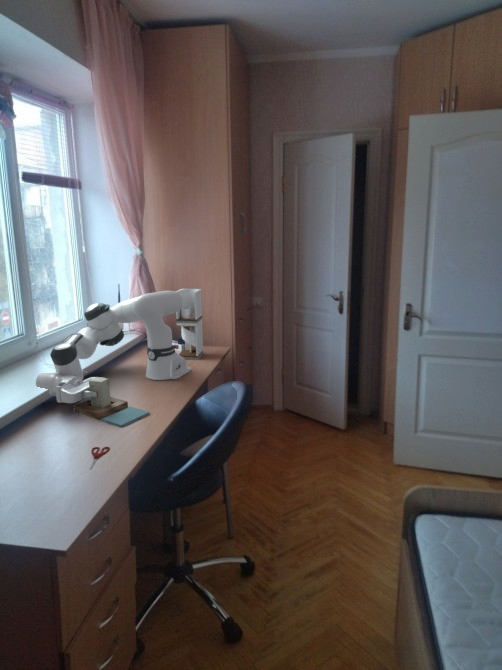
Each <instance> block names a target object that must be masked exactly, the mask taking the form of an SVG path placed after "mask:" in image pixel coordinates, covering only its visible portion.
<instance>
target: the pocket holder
mask: <svg viewBox="0 0 502 670" xmlns="http://www.w3.org/2000/svg"><path fill="white" fill-rule="evenodd" d="M110 400H111V404H110V405H108V406H106V407H103V408H101V409H98V408H95V407H92V406H91V398H90V399H88V400H87V399H86V400H85V401H83V402H79V403H77V404H73V412H74V413H75V414H76V413H77V414H80V415H83V416H86V417H89V418H91V419H95V420H98V421H100V420H102V419H103V418H105V417H107V416H110V415H112V414H114V413H117V412H119V411H121V410H124V409H126V408H128V407H129V405H128V403H129V402H128V401H127V400H124V399H120V398H117V397H113V396H110Z"/></svg>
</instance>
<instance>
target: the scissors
mask: <svg viewBox="0 0 502 670" xmlns="http://www.w3.org/2000/svg"><path fill="white" fill-rule="evenodd" d="M105 449H106V450H105ZM110 449H111V448H110V446H104V447H102V449H100V447H99V446H94V447H92V448H91V454H92V456H93V461H92V463H91V466H90V467H89V471H90V470H92V468H93V467H94V466H95V464H96V462H97V461H98V459H100V458H101V457H102V456H104V455H105V454H107V453H108V452H109V451H110ZM95 450H96V451H95ZM100 450H101V451H100ZM104 450H105V451H104ZM99 451H100V452H99Z"/></svg>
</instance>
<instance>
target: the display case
mask: <svg viewBox="0 0 502 670" xmlns="http://www.w3.org/2000/svg"><path fill="white" fill-rule="evenodd" d="M176 292H178V293H179V294H180V296H181V298H182V307H181V309H180V310H178V311H177V312H175V317H176V318H175V319H176V321H175V322H176V323H175V324H176V326H180V327H181V329H180V331H181V338H182V340H183V341H184V345H185V347H184V348H185V349H183V350H181V352H179V353H178V354H179V355H180V356H182V357H183V358H184V359H185V360H196V361H197V360H199V359H200V358H201V357H202V356H203V354H204V341H203V340H204V339H203V338H204V337H203V336H204V335H203V305H202V304H203V299H202V288H180V289H178V290H176Z"/></svg>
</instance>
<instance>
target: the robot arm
mask: <svg viewBox="0 0 502 670" xmlns="http://www.w3.org/2000/svg"><path fill="white" fill-rule="evenodd" d="M176 291H177V290H176ZM176 291H175V290H167V289H166V290H162V291H156V292H148V293H143V294H141V295H139V296H136V297H132V298H129V299H125V300H122V301H120V302H118V303H116V304H115V305H114V306H112V307H110V304H108V303H107V304H105V303H102V302H97V303H93V304H91V305H89V306H88V307H87V308H86V309H85V311H84V314H83V315H84V317H85V319H86V321H87V322H88V324H89V326H90V327H87V326H86V327H83V328H81V329H80V330H79V331H78V332H76V333H71V334H70V335H68V336H67V337H66V338H65V339H63V341H61V342H60V343H59V344H57V345H56V346H54V347H53V348H52V350H51V352H50V354H49V356H50V358H51V361H52V362H53V365H54V366H53V367H54V369H55V371H54V372H42V373H39V374H38V375H37V376H36V379H35V387H36V386H37V387H40V388H45V389H48V390H49V394H50V395H51V396H52V397H56V402H57V403H59V404H60V403H65V404H75V403H78V402H80V401H81V400H83V399H85V398H90V397H96V396H98V392H97V391H90V389H89V380H91V379H93V378H95V377H97V378H104V376H103V377H102V376H101V377H99V376H90V377H88V378H85V379H84V373H83V369H82V366H81V365H82V364H81V361H80V360H88V359H90V358H91V357H92V356H93V355H94V354H95V352H96V349H97V347H98V345H100V346H107V347H113V346H116V345H118V344H119V343H121V341H123V339H124V336H125V334H124V331H123V329H122V328H121V327H120V324H130V323H131V324H132V323H137V322H141V321H142V323H143V326H144V327H145V331H146V338H147V341H146V342H147V346H146V354H147V360H146V370H145V373H146V374H145V378H146V379H149V380H153V381H154V380H155V381H165V380H177V379H179V378H181V377H182V376H184V375H185V374H187V373H189V372H191V371H192V368H191V367H190V366H188V365H187V362H186V359H184V358H183V357H182V356H180V355H179V353H178V352H176V350H179V348H180V345H179V344H173V330H172V328H171V327H170V326H169V325H168V324H165V321H164V319H163V318H164V316H169V315H173V314H176V312H177V311H178V310H180V309H181V307H182V298H181V296H180V294H179V293H178V292H176ZM37 387H36V388H37ZM50 395H49V396H50Z"/></svg>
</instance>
